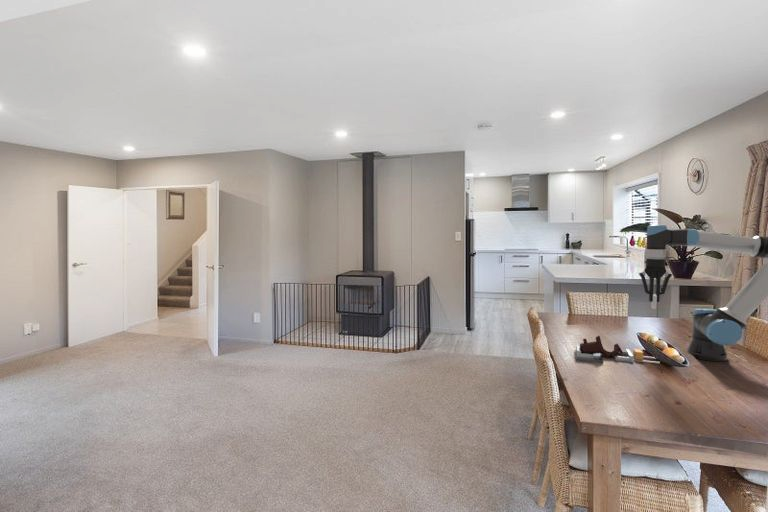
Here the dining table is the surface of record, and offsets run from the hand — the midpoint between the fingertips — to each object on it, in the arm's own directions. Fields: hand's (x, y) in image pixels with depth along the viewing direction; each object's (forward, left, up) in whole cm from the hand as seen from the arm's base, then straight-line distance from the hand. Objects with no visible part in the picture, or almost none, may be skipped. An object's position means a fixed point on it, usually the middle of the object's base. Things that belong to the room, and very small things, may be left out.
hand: (653, 308), depth 191 cm
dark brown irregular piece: (+22, +6, -23) cm, 33 cm away
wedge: (+7, +6, -23) cm, 25 cm away
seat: (+16, +6, -24) cm, 30 cm away
